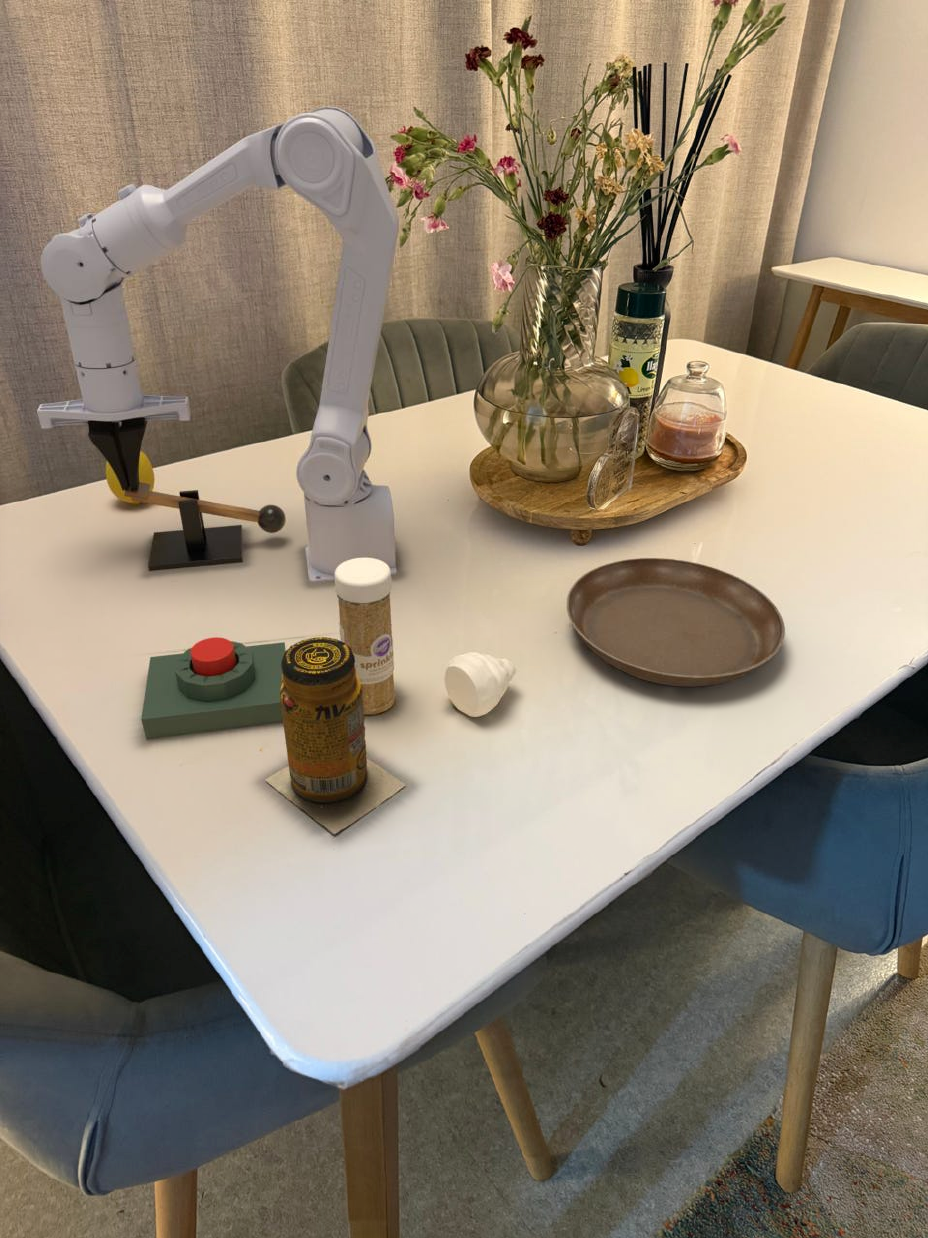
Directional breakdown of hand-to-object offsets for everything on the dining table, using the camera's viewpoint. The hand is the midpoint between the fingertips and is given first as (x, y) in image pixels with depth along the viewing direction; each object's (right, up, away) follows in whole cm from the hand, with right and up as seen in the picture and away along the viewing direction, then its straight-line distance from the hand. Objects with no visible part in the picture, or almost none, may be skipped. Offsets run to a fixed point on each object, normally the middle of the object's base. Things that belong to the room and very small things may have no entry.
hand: (131, 486), depth 95 cm
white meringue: (+38, -22, -17) cm, 47 cm away
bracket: (+6, -7, +6) cm, 10 cm away
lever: (+7, -3, +4) cm, 9 cm away
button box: (+14, -21, -17) cm, 31 cm away
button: (+14, -18, -19) cm, 30 cm away
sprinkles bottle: (+28, -22, -17) cm, 39 cm away
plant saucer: (+56, -16, -8) cm, 59 cm away
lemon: (-5, 0, +16) cm, 17 cm away
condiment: (+26, -27, -26) cm, 46 cm away
